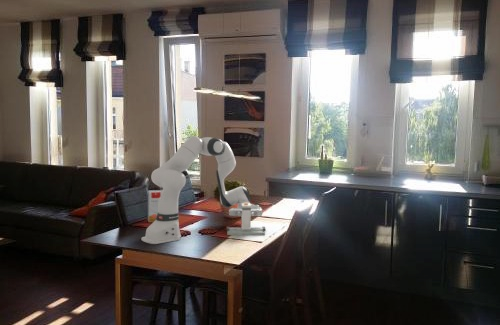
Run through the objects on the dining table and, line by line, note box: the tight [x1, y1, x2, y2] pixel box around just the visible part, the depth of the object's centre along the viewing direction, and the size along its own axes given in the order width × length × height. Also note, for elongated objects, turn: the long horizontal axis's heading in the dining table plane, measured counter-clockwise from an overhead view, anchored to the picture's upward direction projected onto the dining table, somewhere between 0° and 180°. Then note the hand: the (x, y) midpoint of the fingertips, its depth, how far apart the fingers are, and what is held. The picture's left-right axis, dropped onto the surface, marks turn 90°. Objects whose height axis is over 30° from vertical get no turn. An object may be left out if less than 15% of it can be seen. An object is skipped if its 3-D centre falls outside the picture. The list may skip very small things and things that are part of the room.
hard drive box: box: [147, 189, 163, 223], centre depth 283 cm, size 16×8×20 cm, turn 105°
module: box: [241, 202, 252, 229], centre depth 257 cm, size 7×5×15 cm
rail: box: [226, 226, 266, 232], centre depth 258 cm, size 23×5×2 cm, turn 93°
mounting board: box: [226, 230, 266, 236], centre depth 258 cm, size 22×10×2 cm, turn 93°
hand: (246, 214), depth 256 cm, fingers closed on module, 5 cm apart
